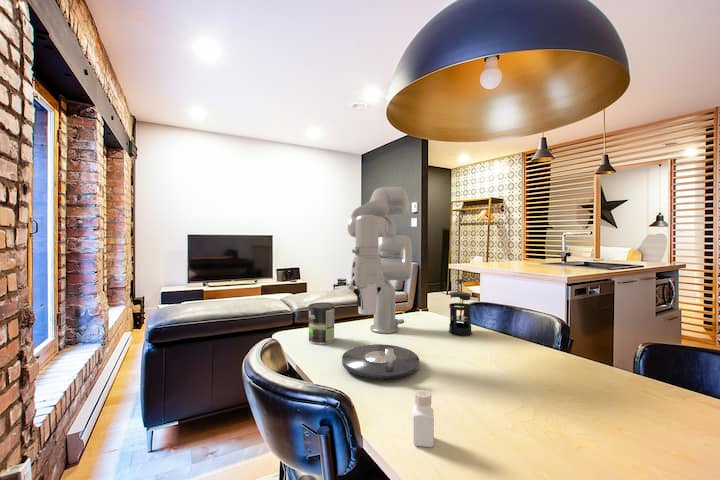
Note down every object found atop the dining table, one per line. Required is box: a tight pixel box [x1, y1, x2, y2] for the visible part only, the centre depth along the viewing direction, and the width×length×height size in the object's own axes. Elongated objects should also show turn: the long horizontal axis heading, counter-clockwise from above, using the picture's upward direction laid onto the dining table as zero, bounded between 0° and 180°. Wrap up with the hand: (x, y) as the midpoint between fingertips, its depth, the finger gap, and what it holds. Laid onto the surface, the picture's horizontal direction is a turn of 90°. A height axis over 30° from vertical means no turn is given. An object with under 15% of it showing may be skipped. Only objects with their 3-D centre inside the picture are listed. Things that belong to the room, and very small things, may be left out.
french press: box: [448, 278, 473, 337], centre depth 135 cm, size 12×9×23 cm
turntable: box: [341, 343, 420, 379], centre depth 99 cm, size 24×24×9 cm
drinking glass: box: [357, 283, 377, 316], centre depth 104 cm, size 7×7×10 cm
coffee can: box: [308, 302, 336, 346], centre depth 125 cm, size 10×10×14 cm
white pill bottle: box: [412, 389, 435, 448], centre depth 62 cm, size 4×4×10 cm
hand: (366, 307), depth 104 cm, fingers closed on drinking glass, 3 cm apart
